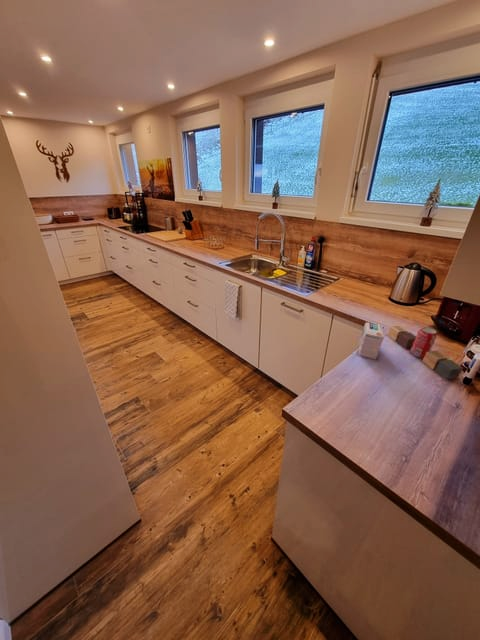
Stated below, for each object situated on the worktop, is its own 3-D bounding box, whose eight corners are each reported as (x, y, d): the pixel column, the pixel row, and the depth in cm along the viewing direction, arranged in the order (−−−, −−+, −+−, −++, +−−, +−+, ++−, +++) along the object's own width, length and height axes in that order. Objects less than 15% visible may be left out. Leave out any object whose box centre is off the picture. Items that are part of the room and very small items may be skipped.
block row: (396, 334, 123) (399, 325, 121) (457, 378, 97) (463, 367, 94) (387, 335, 122) (390, 326, 120) (446, 380, 96) (452, 369, 93)
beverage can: (425, 352, 111) (436, 328, 105) (428, 360, 106) (440, 335, 100) (408, 348, 113) (418, 324, 107) (410, 356, 108) (421, 331, 102)
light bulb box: (358, 342, 116) (365, 321, 111) (375, 346, 114) (382, 324, 108) (358, 355, 107) (365, 333, 102) (376, 360, 105) (384, 337, 100)
